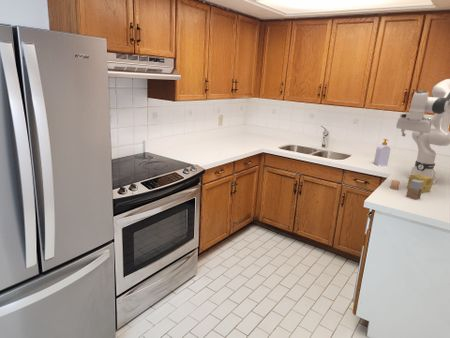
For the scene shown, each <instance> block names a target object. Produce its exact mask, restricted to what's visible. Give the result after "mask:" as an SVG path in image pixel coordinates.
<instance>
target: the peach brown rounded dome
mask: <svg viewBox="0 0 450 338" xmlns="http://www.w3.org/2000/svg"><path fill="white" fill-rule="evenodd" d="M400 183H401V182H400V181H399V180H394V179H393V180H391V182H390V187H389V188H390V189H391V190H396V191H398V190H399V188H400Z"/></svg>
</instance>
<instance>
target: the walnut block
mask: <svg viewBox="0 0 450 338" xmlns="http://www.w3.org/2000/svg"><path fill="white" fill-rule="evenodd" d="M421 192H422V189H420V190H415V189H411V188H407V191H406V194H405V197H406V198H409V199H412V200H415V201H416V200H419V199H420V198H421V196H422V193H421Z"/></svg>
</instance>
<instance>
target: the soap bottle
mask: <svg viewBox="0 0 450 338" xmlns="http://www.w3.org/2000/svg"><path fill="white" fill-rule="evenodd" d="M383 140H384V141H383V142H382V144H379V145H378V146H377V147H376V150H375V155H374V161H373V164H374V165H375V164H376V165H375V166H378V165H381V166H380V167H387V166H388V163H389V158H390V153H391V147H390V146H388V142H389V139H386V138H384V139H383ZM383 165H384V166H383Z"/></svg>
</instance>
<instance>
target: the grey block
mask: <svg viewBox="0 0 450 338" xmlns="http://www.w3.org/2000/svg"><path fill="white" fill-rule="evenodd" d="M422 183H423V181H419V180H415V179H414V180H411V183H410V187H409V188H411V189H415V190H420V189H421V187H422Z"/></svg>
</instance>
